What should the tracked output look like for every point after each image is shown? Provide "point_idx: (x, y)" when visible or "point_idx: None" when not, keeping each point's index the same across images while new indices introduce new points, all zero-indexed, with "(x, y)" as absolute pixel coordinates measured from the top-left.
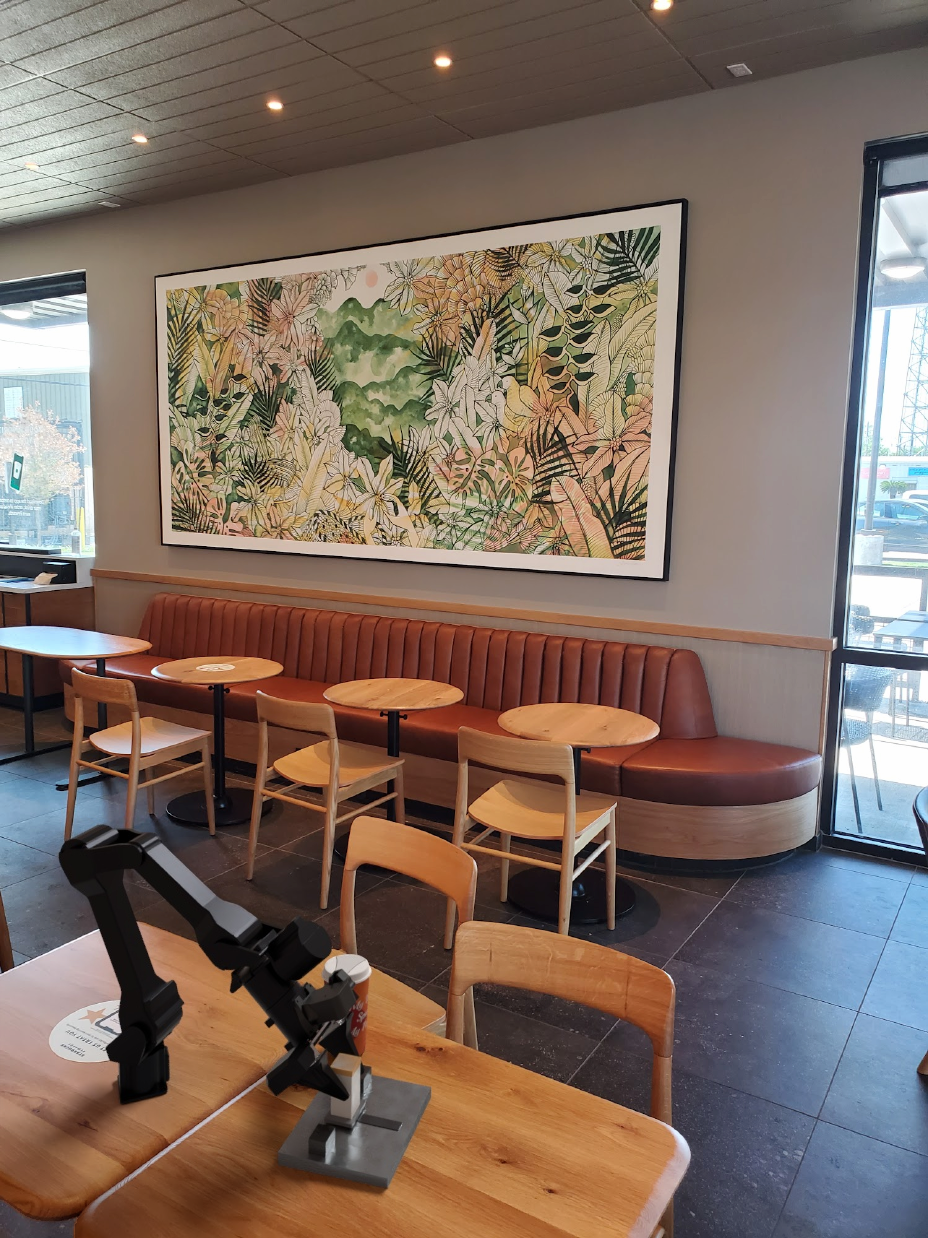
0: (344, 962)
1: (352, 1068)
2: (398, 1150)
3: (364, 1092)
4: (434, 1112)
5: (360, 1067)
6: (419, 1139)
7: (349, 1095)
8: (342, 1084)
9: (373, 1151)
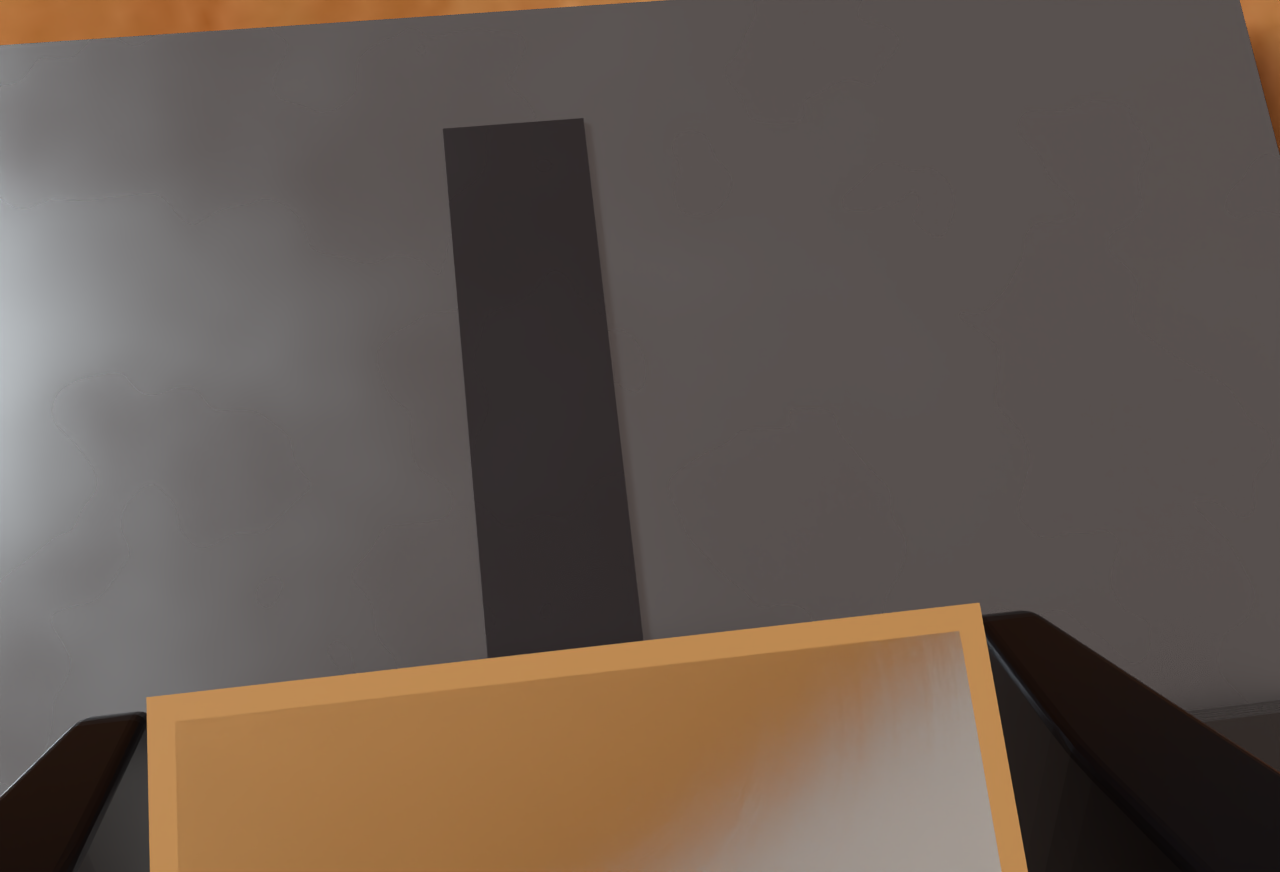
0: None
1: (844, 674)
2: (853, 7)
3: None
4: (21, 17)
5: (116, 810)
6: (469, 7)
7: (998, 613)
8: (1151, 788)
9: (991, 234)
